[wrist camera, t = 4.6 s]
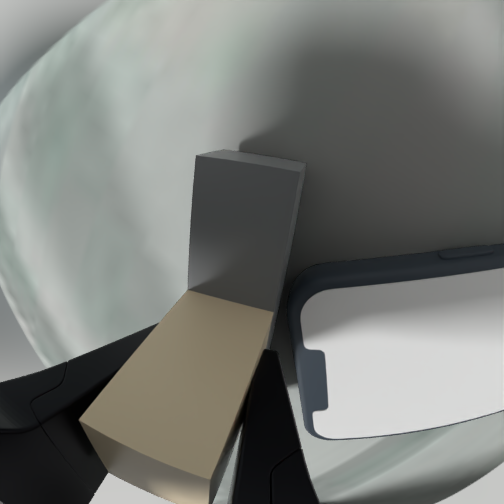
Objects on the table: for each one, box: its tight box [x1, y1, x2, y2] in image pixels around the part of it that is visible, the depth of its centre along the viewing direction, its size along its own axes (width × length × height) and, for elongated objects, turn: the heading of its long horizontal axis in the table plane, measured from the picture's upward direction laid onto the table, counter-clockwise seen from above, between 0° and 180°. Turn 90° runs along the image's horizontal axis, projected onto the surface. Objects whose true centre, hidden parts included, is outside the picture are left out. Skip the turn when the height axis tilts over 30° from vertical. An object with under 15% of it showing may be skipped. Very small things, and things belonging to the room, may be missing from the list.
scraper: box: [79, 149, 307, 504], centre depth 8 cm, size 10×2×7 cm, turn 173°
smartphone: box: [287, 244, 504, 440], centre depth 9 cm, size 9×2×16 cm
